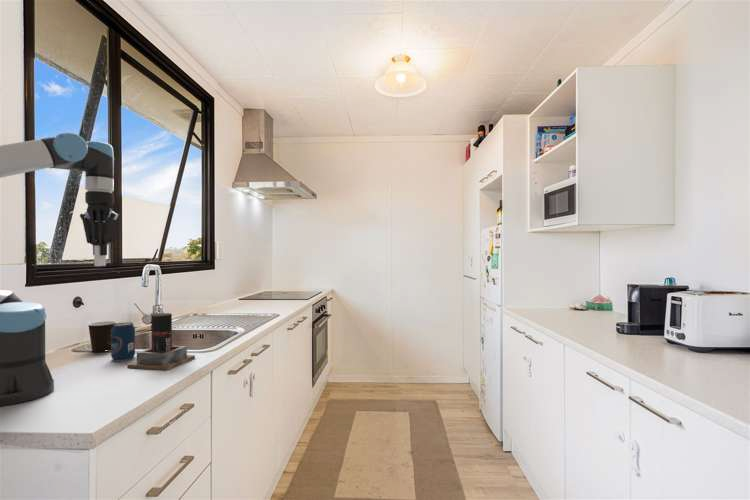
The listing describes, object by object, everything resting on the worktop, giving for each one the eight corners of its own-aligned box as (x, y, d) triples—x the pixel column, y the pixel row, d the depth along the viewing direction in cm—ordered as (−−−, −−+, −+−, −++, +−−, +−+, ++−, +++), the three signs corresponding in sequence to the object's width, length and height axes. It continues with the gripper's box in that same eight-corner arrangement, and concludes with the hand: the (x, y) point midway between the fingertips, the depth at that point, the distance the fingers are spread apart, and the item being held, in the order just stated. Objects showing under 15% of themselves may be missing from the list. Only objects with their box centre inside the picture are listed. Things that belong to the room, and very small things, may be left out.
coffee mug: (102, 353, 144) (102, 326, 144) (82, 352, 146) (82, 325, 146) (128, 345, 155) (128, 320, 155) (109, 344, 157) (109, 319, 157)
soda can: (106, 360, 135) (106, 325, 135) (124, 355, 142) (124, 321, 142) (121, 362, 133) (121, 326, 133) (139, 356, 140) (139, 322, 139)
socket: (166, 370, 124) (166, 356, 124) (127, 367, 127) (127, 353, 127) (194, 358, 138) (194, 345, 138) (159, 356, 140) (159, 343, 140)
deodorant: (165, 362, 129) (165, 316, 129) (147, 362, 129) (147, 316, 129) (175, 357, 135) (175, 313, 135) (158, 357, 135) (157, 313, 135)
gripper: (126, 192, 129) (127, 265, 130) (93, 194, 132) (93, 265, 132) (107, 189, 122) (107, 266, 122) (71, 190, 125) (72, 266, 125)
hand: (100, 265), depth 127 cm, fingers closed
